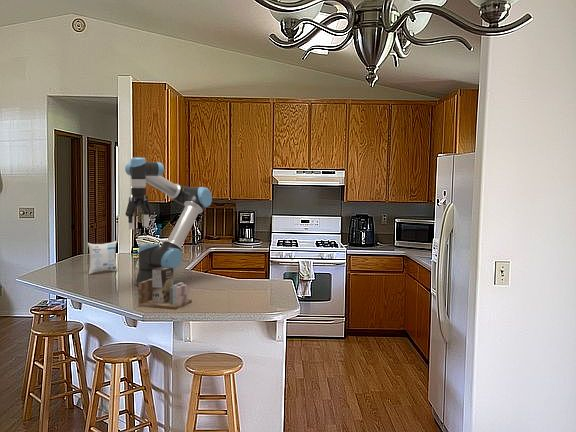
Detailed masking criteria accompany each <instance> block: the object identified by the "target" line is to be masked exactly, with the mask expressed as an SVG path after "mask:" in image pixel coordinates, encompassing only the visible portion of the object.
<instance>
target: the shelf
mask: <svg viewBox="0 0 576 432" xmlns="http://www.w3.org/2000/svg"><path fill="white" fill-rule="evenodd" d="M137 287H138V288H137V289H138V290H137V291H138V293H137V295H138V296H137V297H138V307H146V308H155V309H165V310H178V309H180V308H182V307H184V306H186V305H188V304H191V303H193V300H192V299H188V296H187V295H188V291H187V289H188V285H187V284H185V283H184V282H178V283H175V284H173V285H172V287H170V288H169V293H170V301H167V302H164V303H158V302H152V279H149V280H146V281H143V282H140V283H138V286H137Z"/></svg>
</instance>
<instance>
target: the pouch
mask: <svg viewBox="0 0 576 432" xmlns="http://www.w3.org/2000/svg"><path fill="white" fill-rule="evenodd" d="M86 243H87V246H88V250H89V270H88V274H89V275H92V274H94V273H98V272H103V271H113V272H114V271H115V272H118V267H117V260H116V249H117V248H116V247H117V240H115V241H112V242H105V243H90V242H86Z"/></svg>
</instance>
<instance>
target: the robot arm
mask: <svg viewBox="0 0 576 432" xmlns="http://www.w3.org/2000/svg"><path fill="white" fill-rule="evenodd" d="M124 168H125V169H124V171H125V173H126V174H127V176H130V187H131V188H130V194H131V196H129V198H128V203H127V207H126V211H125V214H124V215H125V216H126V217H128V218H127V219H128V220H127V221H128V230H135V215H134V214H135V212H136V210H137V208H138V207H139V206H140V208H141V210H142V211H143V228H146V227H147V228H149V227H150V225H149V221H150V215H152V209H151V206H150V201H149V197H148V195H147V188H146V187H147V184H149V186H152V187H153V188H155V189H157V190H159V191H160V192H162V193H164V194H165V195H167V197H168V198H169V199H170V200H172V201H174V202H176V203H178V204H180V205H182V206H184V208H183V210H182V212H181V214H180V216H179V218H178V219H177V221H176V224H175V226H174V227H173V228H172V231H171V233H170V235H169V237H168V238H167V239H166V240H164V241H163V242H162V243H161V245H160V243H149V244H143V245H140V246H138V252H137V254H138V255H137V256H138V273H137V276H136V280H135V286H136V287H138V283H140V282H143V281H146V280H149V279H152V269H156V268H161V267H172V268H173V270H174V269H177V268H178V267H179V266H180V265H181V264H182V262H183V249H182V246H183V244H184V243H185V240H186V238H187V236H188V235H189V232H190V231H191V229H192V227H193V224H194V223H195V221H196V219H197V217H198V215H199V214H201V213H202V214H203V212H204V209H205V208H209V207H210V206H211V204H212V202H213V196H212V192H211V190H210V189H209V188H207V187H204V186H183V185H180V184H179V183H174V182H172V181H171V180H169V179H167V178H165V177H164V176H162V175H163V174H164V171H165V167H164V164H163V163H162V162H159V161H147V160H146V157H132V158H131V159H130V162H128V163H127V164H125V167H124ZM146 195H147V196H146Z"/></svg>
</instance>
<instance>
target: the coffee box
mask: <svg viewBox="0 0 576 432" xmlns="http://www.w3.org/2000/svg"><path fill="white" fill-rule="evenodd" d="M172 285H174V269H173V268H172V267H161V268H156V269H152V302H158V303H164V302H167V301H170V293H169V288H170V287H172Z"/></svg>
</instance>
